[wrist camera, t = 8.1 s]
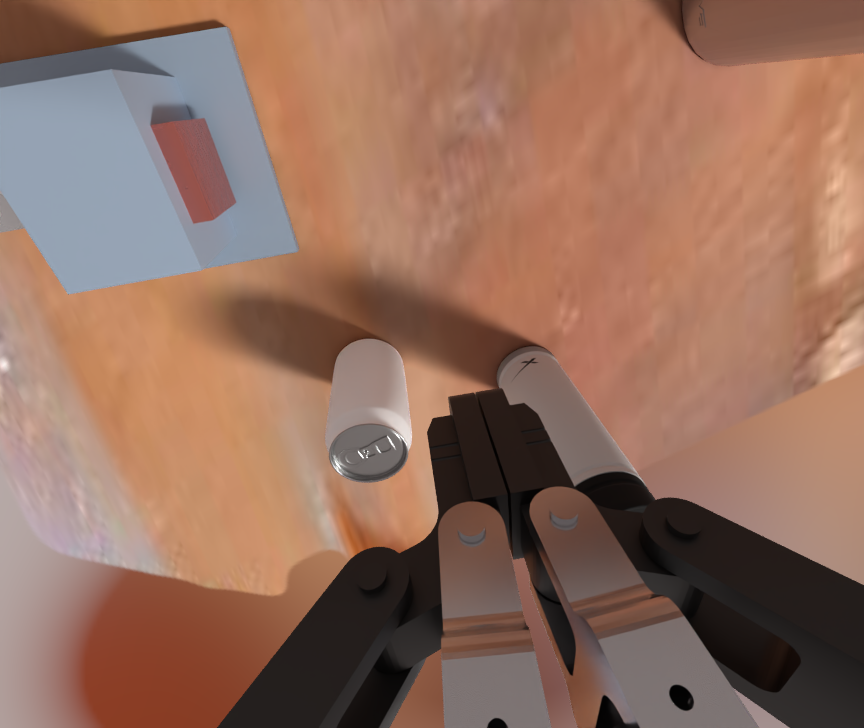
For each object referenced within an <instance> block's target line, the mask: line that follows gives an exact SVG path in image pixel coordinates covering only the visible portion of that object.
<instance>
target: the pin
mask: <svg viewBox="0 0 864 728" xmlns="http://www.w3.org/2000/svg"><path fill="white" fill-rule="evenodd" d="M150 126H151V128H152V131H153V133H154V135H155V137H156V140H157V142H158V144H159V146H160V149H161V151H162V153H163V156H164V158H165V160H166V162H167V165H168V167H169V169H170V172H171V174H172V176H173V178H174V181H175V183H176V185H177V187H178V190H179V192H180V194H181V197H182V199H183V201H184V203H185V206H186V208H187V210H188V212H189V215H190V217H191V219H192V222H193V224H195V223H200V222H206V221H212V220H214V219H216V218H217V217H218V216H220V215H221V214H222V213H224V212H225V211H226V210H227V209H229V208H230V207H231V206H233V205H234V204H235V203H236V200H235V197H234V195H233V192H232V189H231V187H230V184H229V181H228V179H227V176H226V173H225V171H224V168H223V165H222V163H221V160H220V157H219V155H218V152H217V149H216V147H215V144H214V141H213V139H212V136H211V133H210V131H209V128H208V125H207V123H206V120H205V118H201V119H192V120H182V121H172V122H167V123H161V124H155V125H150ZM23 228H24V226H23V224H22V223H21V221H20V220H19V218H18V217H17V215H16V214H15V212H14V211H13V209H12V208H11V206H10V205H9V203H8V202H7V200H6V198H5V197H4V195H3V194H2V192H1V191H0V232H6V231H12V230H17V229H23Z"/></svg>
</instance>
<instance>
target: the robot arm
mask: <svg viewBox="0 0 864 728" xmlns="http://www.w3.org/2000/svg"><path fill="white" fill-rule="evenodd" d="M682 14H683V23H684V29H685V32H686V35H687V38H688V41H689V43H690V44H691V46H692V48H693V49H694V51H695V52H696V53H697V54H698V55H699V56H700V57H701V58H702V59H704V60H705V61H707V62H709V63H712V64H714V65H720V66H735V65H746V64H756V63H766V62H779V61H790V60H800V59H810V58H821V57H831V56H841V55H851V54H862V53H864V0H683V6H682ZM448 400H449V408H450V415H449V416H443V417H437V418H433V419H432V422H431V424H430V426H429V429H428V431H427V435H428V442H429V448H430V455H431V462H432V469H433V475H434V482H435V489H436V496H437V502H438V511H439V514H438V519H437V523H436V525H435V527H434V529H433V530H432V532H431V533H430V534H429V535H428V536H427V537H426V538H425V539H424V540H423V541H421V542H420V543H418V544H417V545H415V546H413V547H411V548H409V549H407V550H405V551H403V552H401V553H398V552H396V551H395V550H392V549H390V548H386V547H373V548H369V549H366V550H364V551H362V552H360V553H358V554H357V555H355V556H354V557H353V558H351V559H350V560H349V562H348V563H347V564H346V565H345V566H344V568H343V569H342V570H341V571H340V573H339V574H338V575H337V576H336V578H335V579H334V580H333V582H332V583H331V584H330V585H329V587H328V588H327V589H326V591H325V592H324V593H323V594H322V596H321V597H320V598H319V599H318V601H317V602H316V603H315V604H314V606H313V607H312V608H311V609H310V611H309V612H308V613H307V615H306V616H305V617H304V618H303V620H302V621H301V622H300V623H299V625H298V626H297V627H296V628H295V630H294V631H293V632H292V633H291V635H290V636H289V637H288V639H287V640H286V641H285V642H284V644H283V645H282V646H281V647H280V649H279V650H278V651H277V652H276V654H275V655H274V656H273V658H272V659H271V660H270V661H269V663H268V664H267V665H266V666H265V668H264V669H263V670H262V672H261V673H260V674H259V675H258V677H257V678H256V679H255V680H254V682H253V683H252V684H251V685H250V687H249V688H248V689H247V691H246V692H245V693H244V694H243V696H242V697H241V698H240V699H239V701H238V702H237V703H236V704H235V706H234V707H233V708H232V709H231V711H230V712H229V713H228V715H227V716H226V717H225V718H224V720H223V721H222V722H221V723H220V725H219V726H218V727H217V728H389V727H390V726H391V724H392V722H393V720H394V718H395V716H396V714H397V713H398V711H399V709H400V707H401V705H402V703H403V701H404V700H405V698H406V696H407V694H408V692H409V690H410V688H411V686H412V685H413V683H414V681H415V679H416V677H417V675H418V673H419V672H420V670H421V668H422V666H423V664H424V662H425V659H426V658H427V657H428V656H430V655H431V654H433V653H435V652H436V651H438V650H440V649H441V659H442V681H443V701H444V724H445V728H551V724H550V719H549V715H548V710H547V705H546V701H545V696H544V692H543V687H542V682H541V677H540V673H539V668H538V663H537V659H536V655H535V650H534V645H533V641H532V637H531V633H530V630H529V627H528V626H527V625H526V623H525V619H524V615H523V611H522V606H521V600H520V596H519V591H518V586H517V581H516V576H515V572H514V567H513V562H512V557H513V559H519V558H525V561H526V565H527V568H528V571H529V580H530V581H529V584H530V590H531V593H532V596H533V599H534V601H535V603H536V606H537V609H538V611H539V614H540V617H541V619H542V622H543V624H544V626H545V629H546V632H547V635H548V637H549V640H550V642H551V645H552V647H553V650H554V652H555V655H556V658H557V660H558V663H559V665H560V668H561V670H562V673H563V676H564V679H565V681H566V685H567V688H568V692H569V697H570V702H571V706H572V710H573V714H574V718H575V721H576V724H577V727H578V728H759V727H758V725H757V724H756V722H755V721H754V719H753V718H752V716H751V715H750V713H749V712H748V710H747V709H746V707H745V706H744V704H743V703H742V701H741V700H740V698H739V697H738V695H737V694H736V692H735V691H734V689H736V690H737V691H738V692H740V693H742V694H743V695H744V696H746V697H747V698H748V699H750V700H751V701H753V702H754V703H755V704H757V705H759V706H760V707H761V708H763V709H764V710H766V711H767V712H768V713H770V714H771V715H773V716H774V717H775V718H777V719H778V720H780V721H781V722H782V723H784V724H786V725H787V726H788V727H790V728H864V585H862V584H860V583H858V582H856V581H854V580H852V579H850V578H848V577H845V576H843V575H841V574H839V573H837V572H835V571H833V570H831V569H829V568H827V567H825V566H823V565H821V564H819V563H817V562H814V561H812V560H810V559H808V558H806V557H804V556H802V555H800V554H798V553H796V552H794V551H792V550H790V549H788V548H786V547H784V546H782V545H779V544H777V543H775V542H773V541H771V540H769V539H767V538H765V537H763V536H761V535H759V534H757V533H755V532H753V531H751V530H748V529H746V528H744V527H742V526H740V525H738V524H736V523H734V522H732V521H730V520H728V519H726V518H723V517H721V516H720V515H717V514H715V513H713V512H711V511H709V510H707V509H705V508H703V507H701V506H699V505H697V504H695V503H692V502H690V501H687V500H683V499H679V498H662V499H657V500H655V501H653V502H651V503H650V504H649V505H648V506H647V507H646V508H645V510H644V513H640V512H631V511H622V510H614V509H608V508H605V507H602V506H599V505H597V504H595V503H593V502H592V500H590V499H589V498H588V497H587V496H586V495H584V494H583V493H581V492H579V491H578V490H577V489H576V487H575V486H574V484H573V482H572V480H571V478H570V476H569V474H568V472H567V470H566V468H565V466H564V464H563V462H562V460H561V458H560V456H559V454H558V452H557V450H556V448H555V447H554V445H553V443H552V442H551V439H550V437H549V435H548V433H547V431H546V430H545V427H544V425H543V423H542V421H541V419H540V417H539V415H538V413H537V412H535V411H534V410H533V409H531V408H530V407H529V406H528V405H526V404H525V403H520V404H514V405H510V404H509V402H508V400H507V397H506V395H505V393H504V390H503V389H502V388H498V389H492V390H486V391H480V392H476V394H475V393H468V394H462V395H456V396H450V397H448ZM510 550H511V552H510ZM511 554H512V557H511ZM732 687H733V688H734V689H733V688H732ZM673 703H674V704H673Z"/></svg>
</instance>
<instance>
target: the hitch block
mask: <svg viewBox="0 0 864 728" xmlns="http://www.w3.org/2000/svg"><path fill="white" fill-rule="evenodd" d="M201 118H205V120H206V123H207V125H208V128H209V131H210V133H211V136H212V139H213V141H214V144H215V147H216V149H217V152H218V155H219V157H220V160H221V163H222V165H223V168H224V171H225V173H226V176H227V179H228V181H229V184H230V187H231V189H232V192H233V195H234V197H235V200H236V203H235V204H234V205H233V206H231V207H230V208H229V209H227V210H226V211H225V212H224V213H222V214H221V215H220V216H218V217H217V218H216V219H214V220H212V221H206V222H200V223H195V224H193V222H192V219H191V217H190V215H189V212H188V210H187V208H186V206H185V203H184V201H183V199H182V197H181V194H180V192H179V190H178V187H177V185H176V183H175V181H174V178H173V176H172V174H171V172H170V169H169V167H168V165H167V162H166V160H165V158H164V156H163V153H162V151H161V149H160V146H159V144H158V142H157V140H156V137H155V135H154V133H153V131H152V128H151V126H150V125H155V124H161V123H167V122H172V121H182V120H192V119H201ZM0 191H1V192H2V194H3V195H4V197H5V198H6V200H7V202H8V203H9V205H10V206H11V208H12V209H13V211H14V212H15V214H16V215H17V217H18V218H19V220H20V221H21V223H22V224H23V226H24V228H25V229H26V231H27V232H28V234H29V235H30V237H31V238H32V240H33V241H34V243H35V244H36V246H37V247H38V249H39V250H40V252H41V254H42V255H43V257H44V258H45V260H46V261H47V263H48V264H49V266H50V267H51V269H52V270H53V272H54V273H55V275H56V277H57V278H58V280H59V281H60V283H61V284H62V286H63V287H64V289H65V290H66V292H67V293H68V294H73V293H79V292H84V291H90V290H95V289H101V288H106V287H112V286H117V285H123V284H129V283H134V282H140V281H145V280H151V279H156V278H162V277H167V276H173V275H179V274H184V273H190V272H195V271H201V270H203V269H205V268H211V267H216V266H222V265H227V264H233V263H238V262H244V261H249V260H255V259H261V258H266V257H272V256H277V255H283V254H288V253H294V252H298V250H299V246H298V243H297V240H296V237H295V234H294V231H293V228H292V224H291V221H290V218H289V215H288V212H287V209H286V205H285V202H284V199H283V196H282V193H281V190H280V187H279V183H278V180H277V177H276V174H275V171H274V168H273V164H272V161H271V158H270V155H269V152H268V149H267V146H266V142H265V139H264V136H263V133H262V130H261V127H260V123H259V120H258V117H257V114H256V111H255V108H254V105H253V101H252V98H251V95H250V92H249V89H248V86H247V82H246V79H245V76H244V73H243V70H242V67H241V63H240V60H239V57H238V54H237V51H236V48H235V45H234V41H233V38H232V35H231V32H230V29H229V28H227V27H220V28H214V29H208V30H202V31H196V32H190V33H184V34H178V35H172V36H166V37H160V38H154V39H148V40H141V41H135V42H129V43H123V44H117V45H111V46H105V47H99V48H93V49H87V50H81V51H75V52H69V53H63V54H57V55H51V56H44V57H38V58H32V59H26V60H20V61H14V62H8V63H2V64H0Z"/></svg>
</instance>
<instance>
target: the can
mask: <svg viewBox="0 0 864 728" xmlns="http://www.w3.org/2000/svg"><path fill="white" fill-rule="evenodd" d="M325 442H326V447H327V450H328V452H329V459H330V462H331V465H332V466H333V468H334V469H335V470H336V471H337V472H338V473H339V474H340V475H342V476H343V477H345V478H347V479H350V480H352V481H356V482H364V483H371V482H378V481H382V480H385V479H388V478H390V477H392V476H393V475H395V474H396V473H398V472H399V471H400V470H401V469H402V468H403V466H404V465H405V463H406V461H407V458H408V451H409V449H410V446H411V442H412V429H411V420H410V412H409V403H408V395H407V387H406V379H405V372H404V365H403V361H402V358H401V356H400V354H399V353H398V351H397V350H396V349H395V348H394V347H392V346H391V345H390V344H388V343H386V342H384V341H381V340H376V339H362V340H358V341H355V342H352V343H350V344H349V345H347V346H346V347H345V348H344V349H343V350H342V351H341V352H340V353H339V355H338V357H337V359H336V362H335V367H334V373H333V380H332V388H331V395H330V402H329V409H328V417H327V425H326V434H325Z"/></svg>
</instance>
